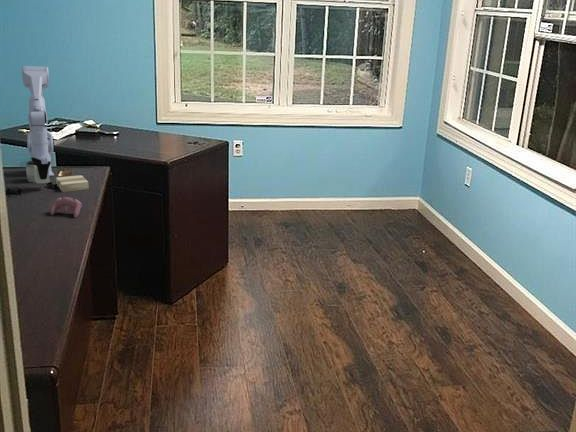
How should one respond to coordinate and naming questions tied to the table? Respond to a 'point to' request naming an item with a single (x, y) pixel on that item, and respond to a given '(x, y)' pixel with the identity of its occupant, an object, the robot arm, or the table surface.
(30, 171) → the camera lens
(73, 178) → the birch block
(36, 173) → the sage block
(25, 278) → the table surface
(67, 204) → the video game controller
